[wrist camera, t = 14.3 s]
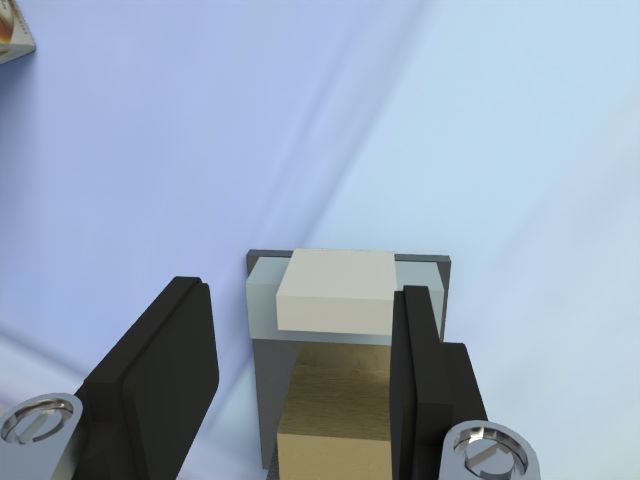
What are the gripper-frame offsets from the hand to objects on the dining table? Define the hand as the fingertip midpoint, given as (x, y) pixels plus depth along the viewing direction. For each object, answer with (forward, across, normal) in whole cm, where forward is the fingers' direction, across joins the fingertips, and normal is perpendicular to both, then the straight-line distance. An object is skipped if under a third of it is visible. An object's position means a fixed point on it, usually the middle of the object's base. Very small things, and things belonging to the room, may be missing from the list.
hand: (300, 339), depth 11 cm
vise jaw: (+20, 0, +8) cm, 22 cm away
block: (+20, 0, +18) cm, 27 cm away
